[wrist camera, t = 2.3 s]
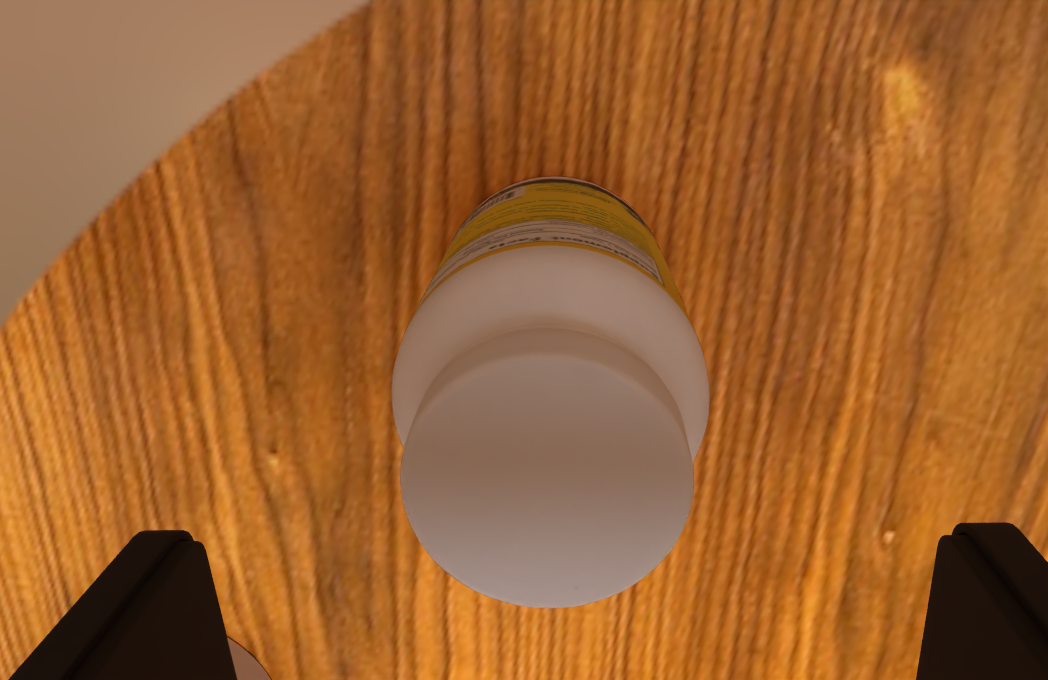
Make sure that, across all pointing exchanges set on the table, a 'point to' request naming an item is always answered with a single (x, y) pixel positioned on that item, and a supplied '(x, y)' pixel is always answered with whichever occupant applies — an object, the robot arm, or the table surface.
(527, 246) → the pill bottle
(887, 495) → the table surface
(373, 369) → the table surface
